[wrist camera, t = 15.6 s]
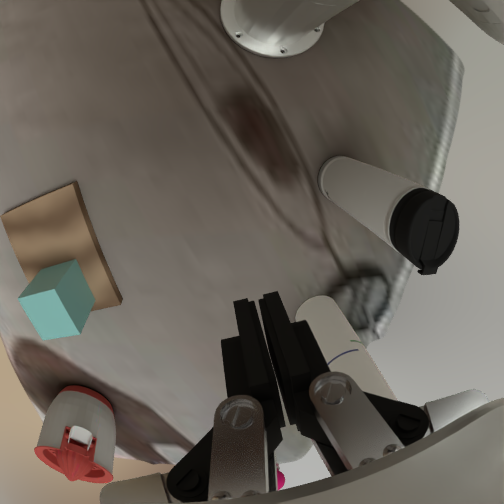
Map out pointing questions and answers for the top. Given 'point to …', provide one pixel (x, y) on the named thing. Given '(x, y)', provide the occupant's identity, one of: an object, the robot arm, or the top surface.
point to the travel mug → (394, 210)
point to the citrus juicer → (79, 435)
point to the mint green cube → (58, 301)
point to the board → (60, 240)
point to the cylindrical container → (342, 345)
